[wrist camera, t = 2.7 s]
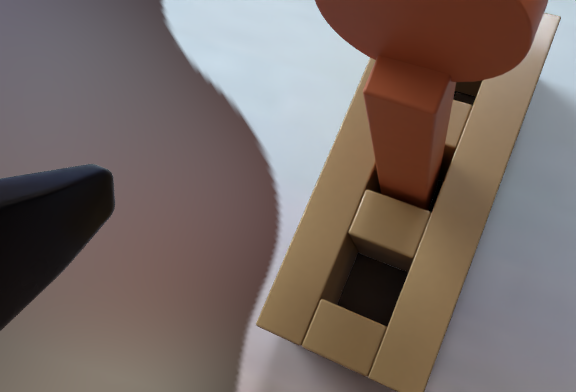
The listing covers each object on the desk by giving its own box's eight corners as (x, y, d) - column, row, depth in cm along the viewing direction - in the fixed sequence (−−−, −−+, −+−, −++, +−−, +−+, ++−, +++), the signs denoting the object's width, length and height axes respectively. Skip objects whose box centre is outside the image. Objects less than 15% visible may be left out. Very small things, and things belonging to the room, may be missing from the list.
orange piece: (453, 237, 20) (540, 31, 7) (355, 201, 21) (267, -34, 8) (470, 191, 20) (584, -89, 7) (372, 159, 22) (315, -134, 8)
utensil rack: (283, 328, 20) (254, 325, 17) (403, 40, 23) (402, -20, 19) (418, 390, 19) (420, 402, 15) (534, 74, 21) (561, 15, 17)
